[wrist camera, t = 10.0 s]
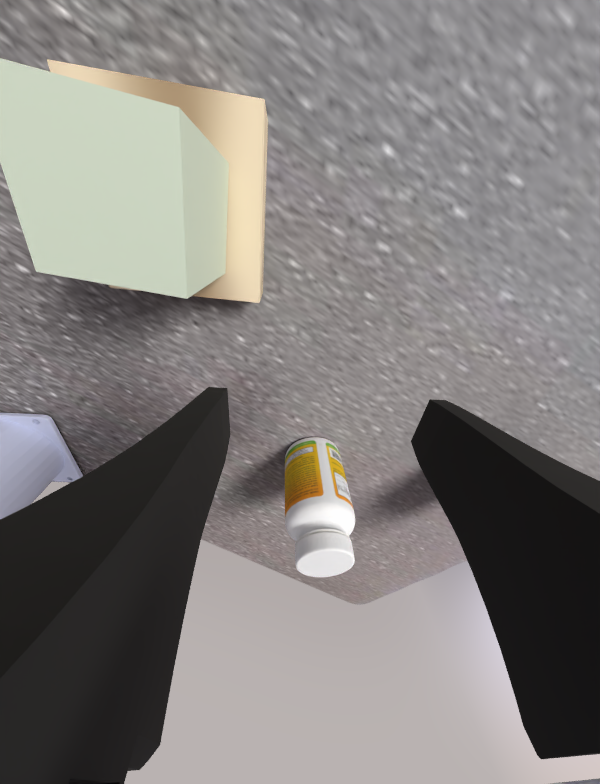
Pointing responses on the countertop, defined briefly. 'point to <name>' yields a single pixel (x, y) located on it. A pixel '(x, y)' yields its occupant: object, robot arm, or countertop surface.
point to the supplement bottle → (318, 508)
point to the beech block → (235, 143)
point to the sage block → (112, 184)
